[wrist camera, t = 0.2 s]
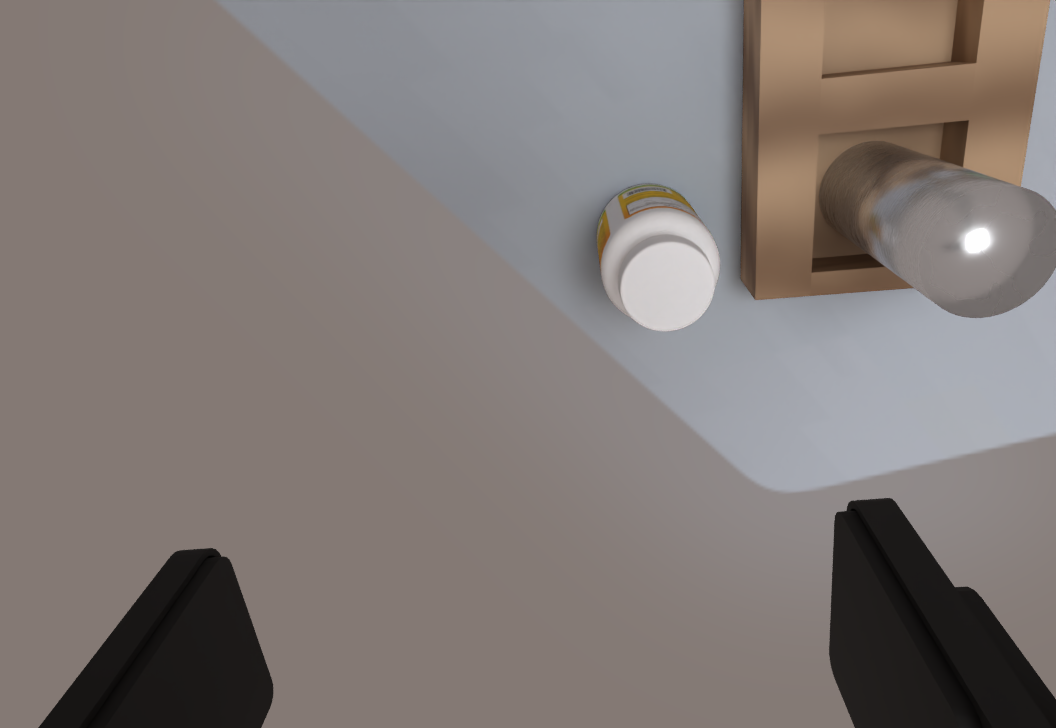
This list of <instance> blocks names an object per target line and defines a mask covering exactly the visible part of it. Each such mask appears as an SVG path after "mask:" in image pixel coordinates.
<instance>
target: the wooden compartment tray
mask: <svg viewBox="0 0 1056 728" xmlns="http://www.w3.org/2000/svg"><path fill="white" fill-rule="evenodd" d="M1049 4H1050V0H744V39H743V120H742V201H741V280H742V282H743V283H744V284H745V286H746V287H747V289H748V290H749V292H750V293H751V295H752V296H753V297H754V299H755V300H762V299H775V298H788V297H801V296H814V295H828V294H841V293H854V292H867V291H880V290H893V289H906V288H914V287H912V286H911V285H910V284H908V283H907V282H906V281H904V280H903V279H902V278H900V277H899V276H897V275H896V274H895V273H893V272H892V271H891V270H889V269H888V268H887V267H885V266H884V265H883V264H881V263H880V262H879V261H877V260H876V259H874V258H873V257H872V256H870V255H869V254H868V253H866V252H865V251H864V250H862V249H861V248H860V247H858V246H857V245H855V244H854V243H853V242H851V241H850V240H849V239H847V238H846V237H845V236H843V235H842V234H841V233H839V232H838V231H837V230H835V229H834V228H833V227H831V225H830V224H829V223H828V222H827V221H826V219H825V218H824V216H823V214H822V211H821V208H820V202H819V192H820V186H821V182H822V180H823V177H824V175H825V173H826V171H827V169H828V168H829V166H830V165H831V164H832V163H833V161H834V160H835V159H836V158H837V157H838V156H839V155H840V154H842V153H843V152H845V151H846V150H848V149H849V148H851V147H853V146H855V145H858V144H860V143H864V142H869V141H885V142H889V143H893V144H896V145H899V146H902V147H905V148H908V149H911V150H914V151H916V152H919V153H922V154H925V155H928V156H931V157H934V158H937V159H940V160H943V161H946V162H949V163H952V164H955V165H958V166H961V167H964V168H967V169H970V170H973V171H976V172H979V173H982V174H984V175H987V176H990V177H993V178H996V179H999V180H1002V181H1005V182H1008V183H1011V184H1014V185H1017V186H1020V187H1021V181H1022V175H1023V168H1024V162H1025V156H1026V149H1027V143H1028V137H1029V130H1030V124H1031V118H1032V112H1033V105H1034V99H1035V93H1036V86H1037V80H1038V74H1039V67H1040V61H1041V55H1042V48H1043V42H1044V36H1045V30H1046V23H1047V17H1048V11H1049Z"/></svg>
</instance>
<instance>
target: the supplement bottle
mask: <svg viewBox="0 0 1056 728" xmlns="http://www.w3.org/2000/svg"><path fill="white" fill-rule="evenodd" d="M597 247H598V254H599V263H600V270H601V277H602V282H603V285H604V288H605V290H606V293H607V295H608V297H609V298H610V300H611V301H612V303H613V304H614V305H615V306H616V307H617V308H618V309H619V310H620V311H621V312H623V313H624V314H626V315H627V316H629V317H631V318H632V319H633V320H635V321H636V322H637V323H639V324H640V325H642V326H644V327H646V328H648V329H651V330H656V331H674V330H678V329H681V328H684V327H686V326H688V325H690V324H692V323H693V322H695V321H696V320H697V319H699V318H700V317H701V316H702V315H703V313H704V312H705V311H706V310H707V308H708V306H709V305H710V302H711V300H712V297H713V294H714V289H715V286H716V284H717V281H718V277H719V272H720V257H719V252H718V248H717V245H716V243H715V241H714V238H713V237H712V235H711V233H710V232H709V230H708V229H707V227H706V226H705V225H704V224H703V222H702V221H701V219H700V218H699V217H698V215H697V214H696V213H695V211H694V210H693V208H692V207H691V205H690V204H689V203H688V202H687V201H686V199H685V198H684V197H683V196H682V195H680V194H679V193H678V192H676V191H675V190H673V189H671V188H668V187H666V186H662V185H658V184H641V185H636V186H633V187H630V188H628V189H626V190H624V191H622V192H620V193H619V194H618V195H616V196H615V197H614V198H613V199H612V200H611V201H610V202H609V203H608V205H607V206H606V207H605V209H604V211H603V212H602V214H601V217H600V219H599V223H598V227H597Z"/></svg>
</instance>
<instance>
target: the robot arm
mask: <svg viewBox="0 0 1056 728" xmlns="http://www.w3.org/2000/svg"><path fill="white" fill-rule="evenodd" d="M830 621H831V623H830V646H829V655H830V662H831V668H832V671H833V675H834V677H835V680H836V683H837V685H838V688H839V690H840V692H841V695H842V697H843V700H844V702H845V705H846V707H847V709H848V712H849V714H850V717H851V719H852V722H853V724H854V727H855V728H1056V699H1055V698H1054V696H1053V695H1052V693H1051V692H1050V691H1049V690H1048V688H1047V687H1046V685H1045V684H1044V683H1043V681H1042V680H1041V678H1040V677H1039V676H1038V674H1037V673H1036V672H1035V670H1034V669H1033V667H1032V666H1031V665H1030V663H1029V662H1028V661H1027V659H1026V658H1025V657H1024V655H1023V654H1022V652H1021V651H1020V650H1019V648H1018V647H1017V646H1016V644H1015V643H1014V641H1013V640H1012V639H1011V637H1010V636H1009V635H1008V633H1007V632H1006V631H1005V629H1004V628H1003V626H1002V625H1001V624H1000V622H999V621H998V620H997V618H996V617H995V615H994V614H993V613H992V611H991V610H990V609H989V607H988V606H987V605H986V603H985V602H984V600H983V599H982V598H981V597H980V596H979V595H978V593H977V592H976V591H975V590H973V589H971V588H969V587H954V586H953V584H952V583H951V581H950V580H949V578H948V577H947V575H946V574H945V573H944V571H943V570H942V568H941V567H940V565H939V564H938V563H937V561H936V560H935V558H934V557H933V555H932V554H931V552H930V551H929V550H928V548H927V547H926V545H925V544H924V543H923V541H922V540H921V538H920V537H919V535H918V534H917V532H916V531H915V530H914V528H913V527H912V525H911V524H910V522H909V521H908V520H907V518H906V517H905V515H904V514H903V512H902V511H901V510H900V508H899V507H898V505H897V504H896V502H895V501H894V500H893V499H890V498H884V499H870V500H857V501H851V502H849V504H848V506H847V511H844V512H837V513H836V515H835V523H834V548H833V572H832V596H831V620H830ZM272 698H273V683H272V679H271V676H270V673H269V670H268V668H267V664H266V662H265V659H264V656H263V653H262V650H261V647H260V644H259V642H258V639H257V636H256V633H255V630H254V627H253V624H252V621H251V618H250V616H249V613H248V610H247V607H246V604H245V601H244V598H243V595H242V593H241V590H240V587H239V584H238V581H237V578H236V575H235V572H234V569H233V567H232V564H231V562H230V560H229V559H228V558H227V557H221V555H220V553H219V552H218V551H217V550H216V549H213V548H208V549H194V550H181V551H177V552H175V553H174V554H173V555H172V556H171V557H170V558H169V559H168V560H167V562H166V563H165V565H164V566H163V567H162V568H161V570H160V571H159V572H158V573H157V575H156V576H155V577H154V579H153V580H152V581H151V582H150V584H149V585H148V586H147V588H146V589H145V590H144V592H143V593H142V594H141V595H140V597H139V598H138V599H137V601H136V602H135V603H134V605H133V606H132V607H131V609H130V610H129V611H128V612H127V614H126V615H125V616H124V618H123V619H122V620H121V621H120V623H119V624H118V625H117V627H116V628H115V629H114V631H113V632H112V633H111V634H110V636H109V637H108V638H107V640H106V641H105V642H104V643H103V645H102V646H101V647H100V649H99V650H98V651H97V653H96V654H95V655H94V656H93V658H92V659H91V660H90V662H89V663H88V664H87V666H86V667H85V668H84V670H83V671H82V672H81V673H80V675H79V676H78V677H77V678H76V680H75V681H74V682H73V684H72V685H71V686H70V688H69V689H68V690H67V691H66V693H65V694H64V695H63V697H62V698H61V699H60V700H59V702H58V703H57V704H56V706H55V707H54V708H53V710H52V711H51V712H50V713H49V715H48V716H47V717H46V719H45V720H44V721H43V723H42V724H41V725H40V726H39V728H261V727H262V724H263V722H264V720H265V718H266V715H267V713H268V711H269V709H270V706H271V703H272Z"/></svg>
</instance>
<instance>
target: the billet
mask: <svg viewBox="0 0 1056 728" xmlns="http://www.w3.org/2000/svg"><path fill="white" fill-rule="evenodd" d="M819 202H820V208H821V211H822V214H823V216H824V218H825V219H826V221H827V222H828V223H829V224H830V225H831V227H833V228H834V229H835V230H837V231H838V232H839V233H841V234H842V235H843V236H845V237H846V238H847V239H849V240H850V241H851V242H853V243H854V244H855V245H857V246H858V247H860V248H861V249H862V250H864V251H865V252H866V253H868V254H869V255H870V256H872V257H873V258H874V259H876V260H877V261H879V262H880V263H881V264H883V265H884V266H885V267H887V268H888V269H889V270H891V271H892V272H893V273H895V274H896V275H897V276H899V277H900V278H902V279H903V280H904V281H906V282H907V283H908V284H910V285H911V286H912V287H914V288H915V289H916V290H918V291H919V292H921V293H922V294H923V295H925V296H926V297H927V298H929V299H930V300H931V301H933V302H934V303H935V304H937V305H938V306H939V307H941V308H942V309H944V310H946V311H948V312H950V313H952V314H955V315H958V316H962V317H970V318H983V317H990V316H995V315H999V314H1002V313H1004V312H1007V311H1010V310H1012V309H1014V308H1016V307H1018V306H1019V305H1021V304H1023V303H1024V302H1026V301H1027V300H1028V299H1030V298H1031V297H1032V296H1034V295H1035V294H1036V293H1037V292H1038V291H1039V290H1040V289H1041V288H1042V287H1043V286H1044V284H1045V283H1046V282H1047V281H1048V279H1049V278H1050V276H1051V275H1052V273H1053V271H1054V270H1055V268H1056V210H1055V209H1054V207H1053V206H1052V205H1051V204H1050V202H1048V201H1047V200H1046V199H1045V198H1044V197H1043V196H1041V195H1039V194H1038V193H1036V192H1034V191H1031V190H1029V189H1026V188H1023V187H1020V186H1017V185H1014V184H1011V183H1008V182H1005V181H1002V180H999V179H996V178H993V177H990V176H987V175H984V174H982V173H979V172H976V171H973V170H970V169H967V168H964V167H961V166H958V165H955V164H952V163H949V162H946V161H943V160H940V159H937V158H934V157H931V156H928V155H925V154H922V153H919V152H916V151H914V150H911V149H908V148H905V147H902V146H899V145H896V144H893V143H889V142H885V141H869V142H864V143H860V144H858V145H855V146H853V147H851V148H849V149H848V150H846V151H845V152H843V153H842V154H840V155H839V156H838V157H837V158H836V159H835V160H834V161H833V163H832V164H831V165H830V166H829V168H828V169H827V171H826V173H825V175H824V177H823V180H822V182H821V186H820V192H819Z"/></svg>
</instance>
